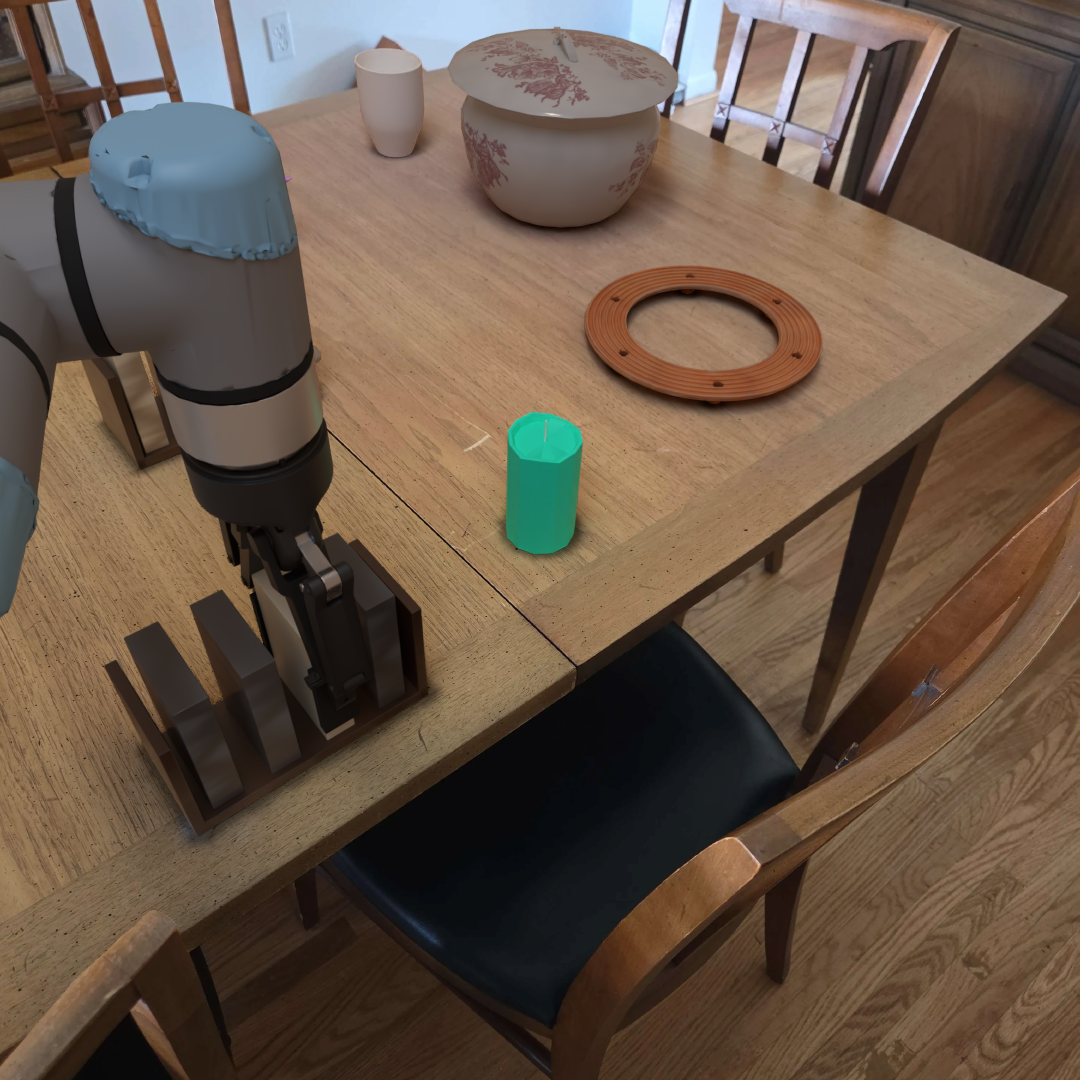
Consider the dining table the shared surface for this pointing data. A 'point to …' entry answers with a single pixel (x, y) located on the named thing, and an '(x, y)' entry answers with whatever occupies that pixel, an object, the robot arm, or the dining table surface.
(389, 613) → the grey rack
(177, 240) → the robot arm
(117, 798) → the dining table surface
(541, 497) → the candle
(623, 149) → the chamber pot
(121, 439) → the cream rack
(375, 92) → the mug
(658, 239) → the dining table surface
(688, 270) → the ring
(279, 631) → the cream book
